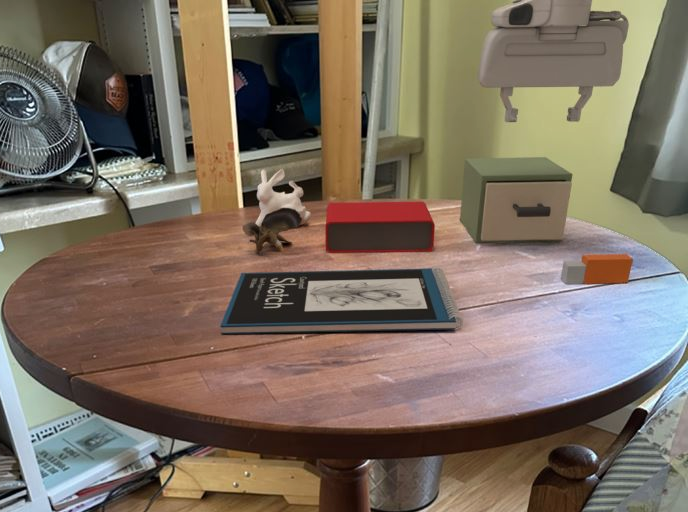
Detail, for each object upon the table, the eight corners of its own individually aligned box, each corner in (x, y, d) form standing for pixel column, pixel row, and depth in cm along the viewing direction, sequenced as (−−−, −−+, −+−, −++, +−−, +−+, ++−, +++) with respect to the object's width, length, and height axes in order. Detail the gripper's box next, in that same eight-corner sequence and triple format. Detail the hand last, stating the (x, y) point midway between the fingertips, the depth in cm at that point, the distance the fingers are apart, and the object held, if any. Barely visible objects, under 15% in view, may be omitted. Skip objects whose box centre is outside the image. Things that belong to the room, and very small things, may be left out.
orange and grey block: (621, 277, 103) (626, 253, 101) (627, 283, 101) (633, 258, 99) (560, 278, 103) (564, 254, 101) (565, 284, 101) (569, 260, 99)
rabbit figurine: (247, 231, 130) (243, 174, 124) (247, 221, 136) (243, 167, 131) (312, 228, 131) (310, 172, 125) (309, 218, 137) (307, 165, 131)
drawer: (571, 247, 113) (581, 189, 108) (487, 249, 113) (494, 190, 109) (539, 217, 131) (546, 165, 126) (466, 218, 131) (470, 167, 126)
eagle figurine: (284, 252, 113) (312, 229, 119) (257, 213, 111) (287, 191, 116) (256, 270, 119) (284, 247, 124) (230, 233, 116) (260, 212, 122)
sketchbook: (241, 281, 105) (240, 267, 104) (442, 279, 104) (443, 265, 103) (221, 335, 87) (219, 318, 86) (463, 332, 86) (464, 315, 85)
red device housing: (424, 230, 128) (426, 201, 125) (433, 251, 116) (435, 220, 113) (327, 231, 129) (326, 202, 126) (325, 252, 117) (325, 221, 114)
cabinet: (561, 241, 120) (572, 173, 114) (475, 243, 120) (482, 175, 114) (537, 218, 134) (545, 157, 128) (459, 219, 134) (464, 158, 128)
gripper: (623, 10, 100) (603, 118, 108) (481, 12, 100) (471, 119, 108) (640, 10, 95) (617, 123, 103) (490, 11, 95) (479, 125, 103)
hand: (541, 121), depth 105 cm, fingers open, 8 cm apart
